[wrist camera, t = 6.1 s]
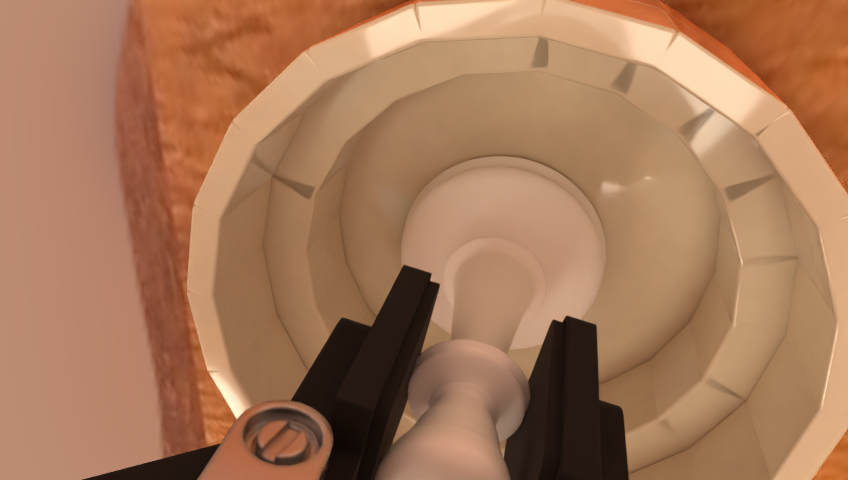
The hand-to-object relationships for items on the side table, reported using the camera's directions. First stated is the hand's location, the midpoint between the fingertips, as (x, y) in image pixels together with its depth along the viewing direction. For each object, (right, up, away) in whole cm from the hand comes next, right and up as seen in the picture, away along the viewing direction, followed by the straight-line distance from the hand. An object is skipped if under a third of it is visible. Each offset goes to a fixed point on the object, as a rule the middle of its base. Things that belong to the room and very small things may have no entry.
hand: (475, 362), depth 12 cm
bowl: (+1, +2, +4) cm, 5 cm away
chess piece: (+1, +2, +4) cm, 5 cm away
